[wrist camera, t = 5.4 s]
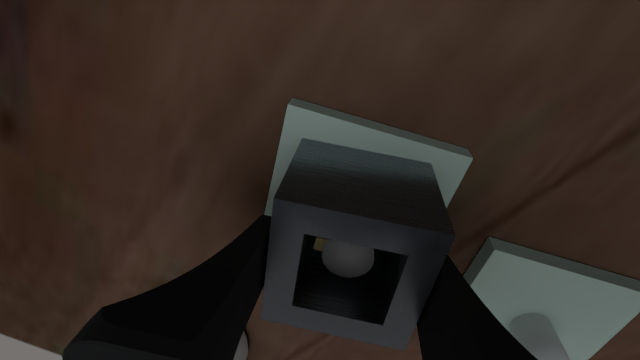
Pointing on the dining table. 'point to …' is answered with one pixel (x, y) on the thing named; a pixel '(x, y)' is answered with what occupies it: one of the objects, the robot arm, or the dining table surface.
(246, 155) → the dining table surface
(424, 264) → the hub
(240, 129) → the dining table surface
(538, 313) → the square peg board
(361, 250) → the square peg base
